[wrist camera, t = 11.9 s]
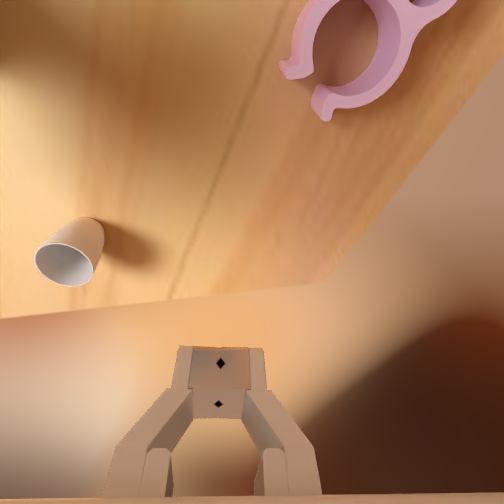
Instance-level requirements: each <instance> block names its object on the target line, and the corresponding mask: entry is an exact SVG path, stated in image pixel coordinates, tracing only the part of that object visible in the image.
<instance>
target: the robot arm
mask: <svg viewBox="0 0 504 504" xmlns="http://www.w3.org/2000/svg"><path fill="white" fill-rule="evenodd" d="M217 417H218V418H230V419H242V422H243V424H244V426H245V428H246V429H247V431H248V433H249V435H250V437H251V439H252V440H253V442H254V444H255V446H256V448H257V450H258V451H259V453H260V455H261V461H260V465H259V468H258V472H257V475H256V479H255V482H254V496H207V497H172V495H173V487H174V483H173V473H172V462H171V452H172V451H173V450H174V448H175V447H176V445H177V444H178V442H179V440H180V439H181V437H182V436H183V434H184V433H185V431H186V430H187V428H188V427H189V425H190V424H191V422H192V421H193V418H217ZM0 504H504V493H442V494H440V493H439V494H366V495H365V494H364V495H363V494H361V495H322V491H321V485H320V480H319V474H318V469H317V463H316V457H315V453H314V447H313V446H312V444H311V443H310V442H309V440H308V439H307V438H306V437H305V435H304V434H303V433H302V431H301V430H300V429H299V427H298V426H297V424H296V423H295V422H294V420H293V419H292V418H291V416H290V415H289V414H288V412H287V411H286V410H285V408H284V407H283V406H282V404H281V403H280V402H279V400H278V399H277V398H276V396H275V395H274V394H273V393H272V391H271V390H267V385H266V374H265V362H264V351H263V349H262V348H248V347H221V348H220V347H219V348H218V347H200V346H179V348H178V351H177V357H176V363H175V368H174V374H173V380H172V386H171V388H169V389H168V388H167V389H166V390H165V391H164V392H163V393H162V395H161V396H160V397H159V398H158V399H157V400H156V401H155V402H154V404H153V405H152V406H151V407H150V408H149V409H148V410H147V412H146V413H145V414H144V415H143V416H142V417H141V418H140V420H139V421H138V422H137V423H136V424H135V425H134V426H133V428H132V429H131V430H130V431H129V432H128V433H127V434H126V436H125V437H124V438H123V439H122V440H121V441H120V443H119V444H118V445H117V446H116V448H115V451H114V455H113V459H112V462H111V466H110V469H109V473H108V476H107V480H106V483H105V487H104V490H103V494H102V497H101V498H56V499H0Z"/></svg>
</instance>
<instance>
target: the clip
mask: <svg viewBox="0 0 504 504" xmlns="http://www.w3.org/2000/svg"><path fill="white" fill-rule="evenodd" d="M338 1H340V0H309V1H308V2H307V4H306V5H305V6H304V8H303V9H302V11H301V13H300V15H299V17H298V19H297V21H296V24H295V27H294V30H293V35H292V41H291V57H290V58H289V59H286V60H282V61H280V63H279V70H280V71H281V72H282V73H283V75H284V76H285V77H286V78H287V79H288V80H294V79H301V78H305V77H307V76H308V75H310V74H312V73H313V71H314V66H313V60H312V48H313V42H314V37H315V34H316V31H317V29H318V26H319V24H320V22H321V21H322V19H323V17H324V16H325V14H326V13H327V12H328V11H329V10H330V8H331V7H332V6H333V5H335V4H336V3H337V2H338ZM363 1H364V2H365V3H367V4H368V6H369V7H370V8H371V9H372V11H373V13H374V15H375V17H376V20H377V24H378V44H377V48H376V51H375V54H374V57H373V59H372V61H371V62H370V64H369V66H368V67H367V68H366V70H365V71H364V72H363V73H362V74H361V75H360V76H359V77H358V78H356V79H355V80H353V81H352V82H350V83H347V84H345V85H341V86H327V85H324V84H321V83H319V84H317V86H316V87H315V89H314V91H313V94H312V99H311V103H310V106H311V108H312V109H313V110H314V111H315V113H316V114H317V115H318V116H319V117H320V119H321V120H322V121H329V120H330V119H331V117H332V114H333V111H334V109H336V108H356V107H360V106H363V105H365V104H368V103H370V102H372V101H374V100H375V99H377V98H378V97H380V96H381V95H382V94H384V93H385V92H386V91H387V90H388V89H389V88H390V87H391V86H392V85H393V84H394V82H395V81H396V80H397V78H398V77H399V75H400V74H401V72H402V70H403V69H404V67H405V65H406V62H407V60H408V57H409V55H410V51H411V48H412V44H413V42H414V40H415V38H416V36H417V34H418V33H419V32H420V30H421V29H422V28H423V27H424V26H425V25H426V24H428V23H429V22H431V21H432V20H434V19H436V18H438V17H440V16H441V15H443V14H444V13H445V12H447V11H448V10H449V9H450V8H451V7H452V6H453V5H454V4H455V3H456V1H457V0H414V1H413V2H411V3H410V2H409V1H408V0H363Z"/></svg>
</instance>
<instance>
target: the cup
mask: <svg viewBox="0 0 504 504" xmlns="http://www.w3.org/2000/svg"><path fill="white" fill-rule="evenodd" d="M103 246H104V229H103V227H102V225H101V224H100V223H99V222H98V221H96V220H94V219H92V218H88V217H82V218H79V219H76V220H74V221H72V222H69V223H68V224H66V225H65V226H63V227H62V228H61V229H59V230H58V231H56V232H55V233H54V234H53V235H52V236H50V237H49V238H48V239H47V240H46V241H45V242H44V243H43V244H42V245H41V246H40V247H39V248H38V249H37V250H36V252H35V254H34V263H35V266H36V268H37V269H38V271H39V272H40V273H41V274H42V275H43V276H44V277H45V278H47V279H48V280H50V281H52V282H54V283H56V284H59V285H63V286H70V287H74V286H80V285H83V284H85V283H87V282H88V281H89V280H90V279H91V278H92V276H93V273H94V271H95V269H96V267H97V264H98V262H99V260H100V257H101V253H102V250H103Z"/></svg>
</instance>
